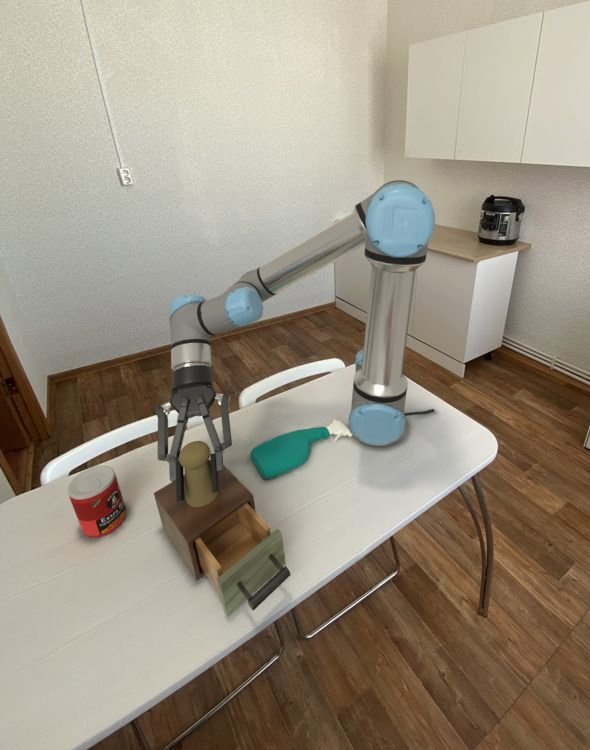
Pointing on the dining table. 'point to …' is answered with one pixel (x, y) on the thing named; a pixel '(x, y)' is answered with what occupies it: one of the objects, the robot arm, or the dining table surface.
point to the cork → (197, 474)
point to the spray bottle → (291, 449)
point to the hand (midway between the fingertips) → (198, 496)
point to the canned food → (97, 501)
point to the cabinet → (199, 515)
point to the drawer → (242, 559)
